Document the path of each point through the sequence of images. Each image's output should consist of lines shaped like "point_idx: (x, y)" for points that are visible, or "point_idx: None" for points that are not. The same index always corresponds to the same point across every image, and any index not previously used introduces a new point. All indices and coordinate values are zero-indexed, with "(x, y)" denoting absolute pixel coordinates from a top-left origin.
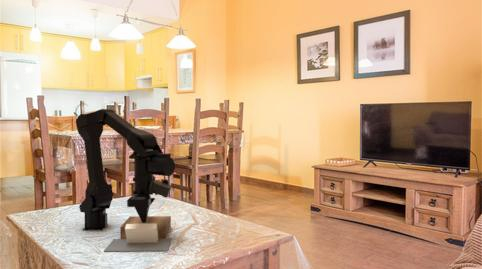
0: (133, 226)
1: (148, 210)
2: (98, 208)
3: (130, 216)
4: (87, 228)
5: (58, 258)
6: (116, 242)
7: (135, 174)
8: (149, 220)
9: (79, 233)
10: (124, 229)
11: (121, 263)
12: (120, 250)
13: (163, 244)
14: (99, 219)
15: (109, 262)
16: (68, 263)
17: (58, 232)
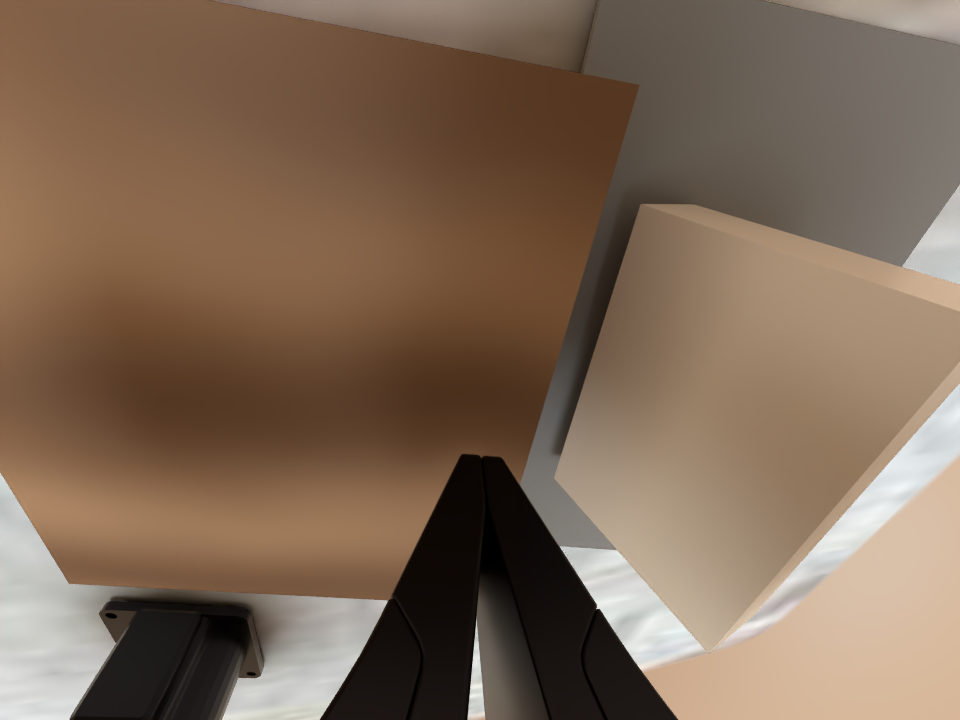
0: (778, 579)
1: (416, 618)
2: None
3: (66, 578)
4: (245, 665)
5: (672, 660)
6: (558, 519)
7: None
8: (204, 386)
9: (311, 666)
10: None
11: (952, 445)
12: None
13: (807, 121)
14: (188, 701)
15: (878, 501)
16: (759, 628)
17: (297, 717)
